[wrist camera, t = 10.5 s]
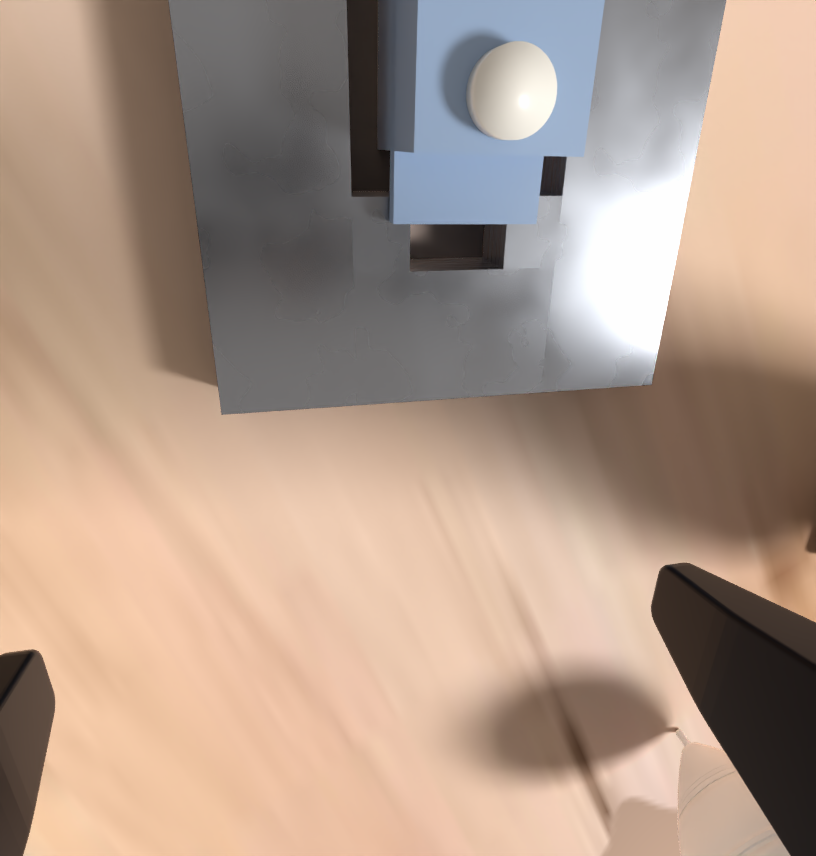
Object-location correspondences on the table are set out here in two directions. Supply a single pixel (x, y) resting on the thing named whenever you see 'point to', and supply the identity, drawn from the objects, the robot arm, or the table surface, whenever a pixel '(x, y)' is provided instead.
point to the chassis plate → (390, 243)
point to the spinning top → (719, 808)
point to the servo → (481, 102)
